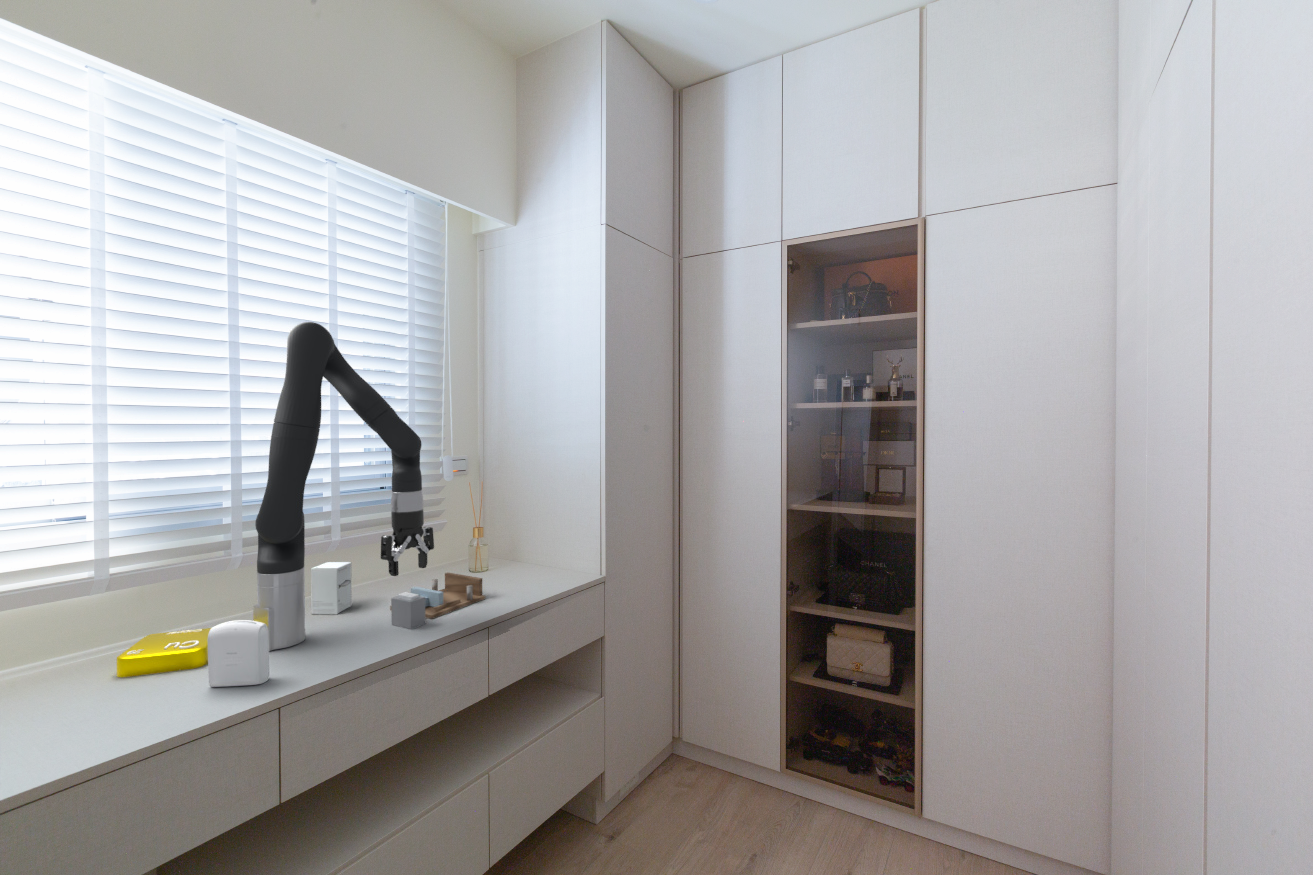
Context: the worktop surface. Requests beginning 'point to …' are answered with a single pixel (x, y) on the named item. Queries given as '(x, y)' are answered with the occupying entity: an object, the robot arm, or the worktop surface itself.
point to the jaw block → (408, 610)
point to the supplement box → (331, 588)
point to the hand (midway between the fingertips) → (408, 571)
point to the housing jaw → (429, 596)
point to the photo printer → (238, 653)
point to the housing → (456, 594)
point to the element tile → (165, 653)
